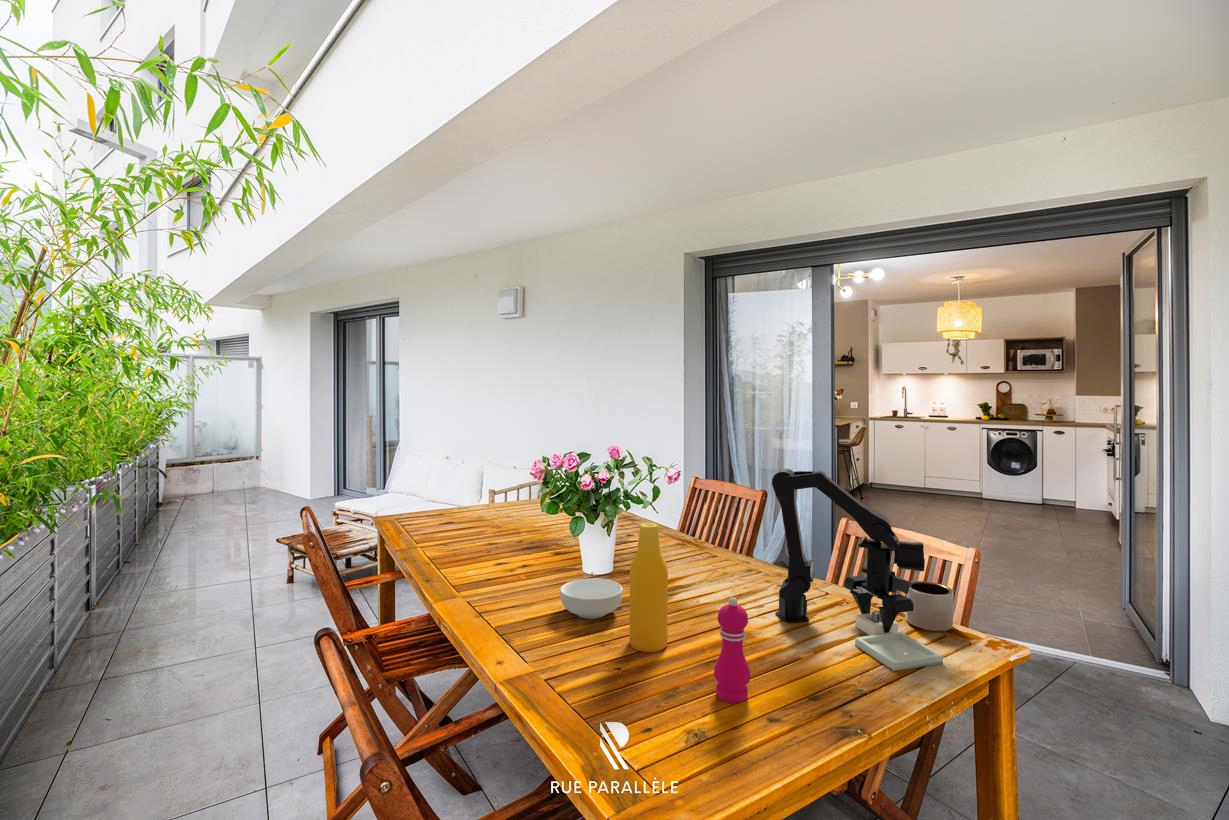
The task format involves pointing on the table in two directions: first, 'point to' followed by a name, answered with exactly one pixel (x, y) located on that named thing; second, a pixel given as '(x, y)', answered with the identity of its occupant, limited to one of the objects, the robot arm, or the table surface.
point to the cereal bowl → (591, 597)
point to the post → (876, 617)
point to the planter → (930, 606)
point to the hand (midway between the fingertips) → (876, 626)
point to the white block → (872, 625)
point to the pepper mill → (732, 654)
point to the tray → (898, 651)
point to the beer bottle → (648, 593)
